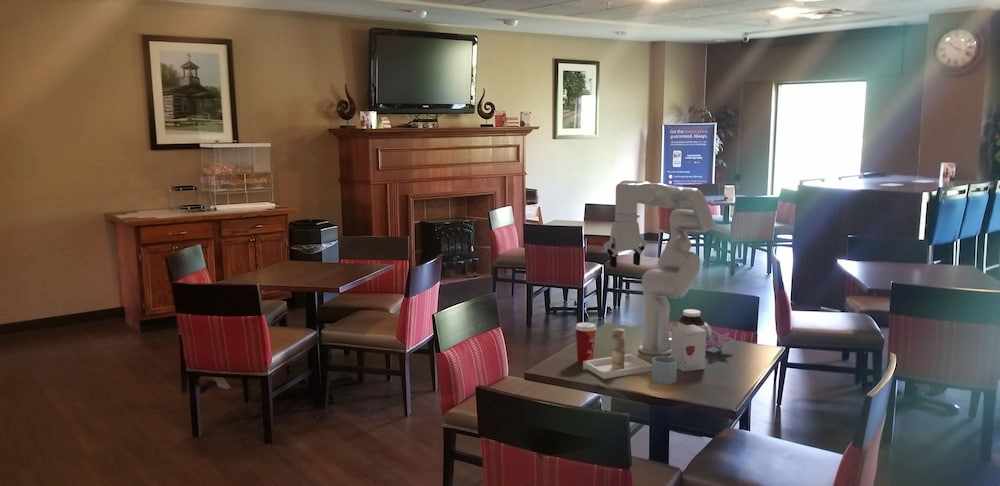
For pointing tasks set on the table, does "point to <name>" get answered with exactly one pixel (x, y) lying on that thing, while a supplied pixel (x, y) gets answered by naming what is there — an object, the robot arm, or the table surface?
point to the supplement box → (688, 347)
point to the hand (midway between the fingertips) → (624, 265)
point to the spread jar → (694, 320)
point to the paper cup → (585, 341)
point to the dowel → (618, 348)
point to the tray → (631, 366)
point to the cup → (664, 369)
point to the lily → (717, 340)
